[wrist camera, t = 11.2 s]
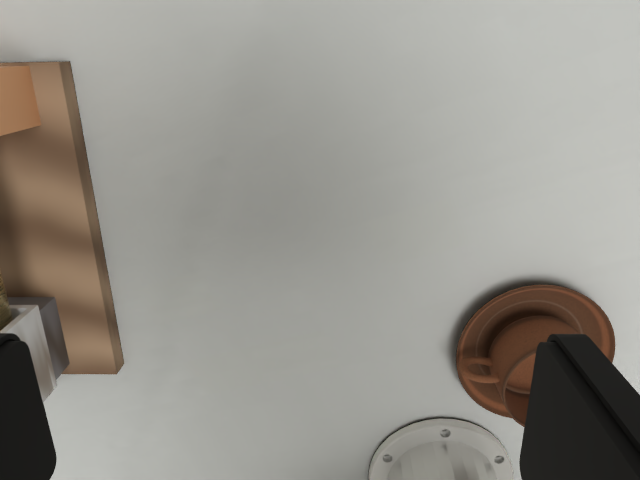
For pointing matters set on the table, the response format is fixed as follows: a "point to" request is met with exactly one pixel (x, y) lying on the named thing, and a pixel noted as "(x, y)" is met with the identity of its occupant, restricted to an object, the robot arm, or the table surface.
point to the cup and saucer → (522, 342)
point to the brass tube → (4, 306)
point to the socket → (17, 100)
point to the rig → (55, 239)
